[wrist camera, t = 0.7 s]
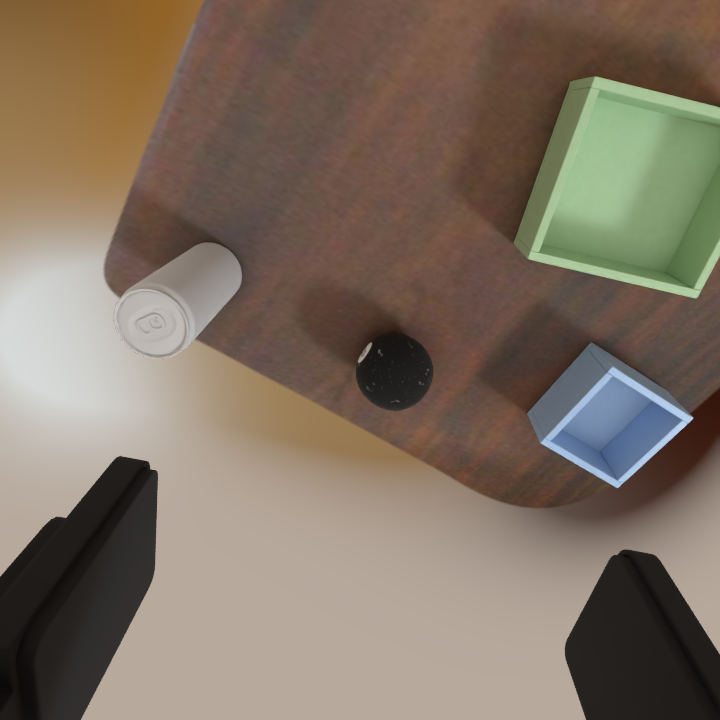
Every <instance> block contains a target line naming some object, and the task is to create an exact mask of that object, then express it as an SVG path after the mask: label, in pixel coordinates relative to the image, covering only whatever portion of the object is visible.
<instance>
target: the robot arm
mask: <svg viewBox="0 0 720 720" xmlns="http://www.w3.org/2000/svg"><path fill="white" fill-rule="evenodd" d="M157 486H158V473H157V471H156V470H151V469H150V465H149V462H147V461H143V460H137V459H132V458H127V457H122V456H119V457H117V458H116V459H115V460H114V461H113V462H112V463H111V464H110V465H109V467H108V468H107V469H106V470H105V472H104V473H103V474H102V475H101V476H100V478H99V479H98V480H97V481H96V482H95V484H94V485H93V486H92V487H91V489H90V490H89V491H88V492H87V493H86V495H85V496H84V497H83V498H82V499H81V501H80V502H79V503H78V504H77V506H76V507H75V508H74V509H73V510H72V512H71V513H70V514H69V515H68V517H67V518H63V517H55V518H53V519H51V520H50V521H49V522H48V523H47V524H46V525H45V526H44V527H43V528H42V529H41V530H40V531H39V533H38V534H37V535H36V536H35V537H34V538H33V540H32V541H31V542H30V543H29V544H28V545H27V546H26V548H25V549H24V550H23V551H22V552H21V553H20V555H19V556H18V557H17V558H16V559H15V560H14V562H13V563H12V564H11V565H10V566H9V567H8V568H7V570H6V571H5V572H4V573H3V574H2V576H1V577H0V720H81V718H82V716H83V714H84V712H85V710H86V708H87V707H88V705H89V703H90V701H91V699H92V697H93V695H94V693H95V691H96V689H97V687H98V685H99V683H100V681H101V679H102V678H103V676H104V674H105V672H106V670H107V668H108V666H109V664H110V662H111V660H112V658H113V656H114V654H115V653H116V651H117V649H118V647H119V645H120V643H121V641H122V639H123V637H124V635H125V633H126V631H127V629H128V627H129V625H130V623H131V622H132V620H133V618H134V616H135V614H136V612H137V610H138V608H139V606H140V604H141V602H142V600H143V598H144V596H145V595H146V592H147V591H148V588H149V587H150V584H151V582H152V579H153V575H154V570H155V549H156V518H157V516H156V515H157ZM565 657H566V661H567V664H568V667H569V670H570V673H571V676H572V679H573V682H574V685H575V688H576V691H577V694H578V697H579V700H580V703H581V706H582V709H583V712H584V715H585V718H586V720H720V654H719V653H718V651H717V650H716V648H715V647H714V645H713V643H712V642H711V640H710V638H709V637H708V635H707V634H706V632H705V631H704V629H703V627H702V626H701V624H700V623H699V621H698V620H697V618H696V616H695V615H694V613H693V612H692V610H691V609H690V607H689V605H688V604H687V602H686V601H685V599H684V598H683V596H682V594H681V593H680V591H679V590H678V588H677V587H676V585H675V583H674V582H673V580H672V579H671V577H670V576H669V574H668V572H667V571H666V569H665V568H664V566H663V565H662V563H661V561H660V560H659V559H658V558H657V557H656V556H655V555H653V554H648V553H643V552H637V551H632V550H622V551H620V553H619V554H618V555H614V556H612V557H611V558H610V560H609V562H608V564H607V565H606V567H605V569H604V571H603V573H602V575H601V577H600V578H599V580H598V582H597V584H596V586H595V588H594V590H593V592H592V594H591V596H590V597H589V599H588V601H587V603H586V605H585V607H584V609H583V611H582V612H581V614H580V616H579V618H578V620H577V622H576V624H575V626H574V627H573V629H572V631H571V633H570V635H569V637H568V639H567V641H566V645H565Z"/></svg>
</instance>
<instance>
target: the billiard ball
mask: <svg viewBox="0 0 720 720" xmlns="http://www.w3.org/2000/svg"><path fill="white" fill-rule="evenodd" d="M432 377H433V365H432V361H431V358H430V356H429V354H428V353H427V351H426V350H425V349H424V348H423V346H422V345H421V344H419V343H418V342H417V341H416V340H414V339H412V338H410V337H408V336H406V335H402V334H396V333H391V334H385V335H382V336H380V337H378V338H376V339H374V340H373V341H372V342H370V343H369V344H368V345H367V347H366V348H365V349H364V350H363V352H362V354H361V355H360V358H359V360H358V363H357V367H356V379H357V383H358V386H359V388H360V390H361V391H362V393H363V394H364V396H365V397H366V398H367V399H368V400H369V401H370V402H372V403H373V404H374V405H376V406H378V407H380V408H383V409H386V410H393V411H398V410H404V409H407V408H409V407H411V406H413V405H415V404H416V403H418V402H419V401H420V400H421V399H422V398H423V397H424V395H425V394H426V392H427V391H428V389H429V387H430V385H431V382H432Z"/></svg>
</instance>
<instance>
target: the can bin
mask: <svg viewBox="0 0 720 720" xmlns="http://www.w3.org/2000/svg"><path fill="white" fill-rule="evenodd" d="M527 415H528V417H529V419H530V421H531V424H532V426H533V428H534V430H535V432H536V435H537V437H538V439H539V441H540V443H541V444H543V445H545V446H546V447H548V448H550V449H551V450H553V451H555V452H557V453H558V454H560V455H562V456H563V457H565V458H567V459H568V460H570V461H572V462H574V463H575V464H577V465H579V466H580V467H582V468H584V469H586V470H587V471H589V472H591V473H592V474H594V475H596V476H598V477H599V478H601V479H603V480H604V481H606V482H608V483H610V484H611V485H613V486H615V487H616V488H618V487H619V486H620V485H622V483H624V482H625V481H626V480H627V479H628V478H629V477H630V476H631V475H632V474H634V473H635V472H636V471H637V470H638V469H639V468H640V467H641V466H642V465H643V464H644V463H646V462H647V461H648V460H649V459H650V458H651V457H652V456H653V455H654V454H655V453H656V452H657V451H659V450H660V449H661V448H662V447H663V446H664V445H665V444H666V443H667V442H668V441H669V440H671V439H672V438H673V437H674V436H675V435H676V434H677V433H678V432H679V431H680V430H682V428H684V427H685V426H686V425H687V423H689V422H690V421H691V420H692V419H693V417H692V416H691V415H690V414H689V413H688V412H687V411H686V410H685V409H684V408H683V407H682V406H681V405H680V404H679V403H678V402H677V401H676V400H675V399H674V398H673V397H672V396H671V395H670V394H669V393H668V392H667V391H666V390H665V389H664V388H662V387H660V386H659V385H657V384H656V383H654V382H653V381H651V380H650V379H648V378H646V377H645V376H643V375H642V374H640V373H639V372H637V371H636V370H634V369H633V368H631V367H629V366H628V365H626V364H625V363H623V362H622V361H620V360H619V359H617V358H615V357H614V356H612V355H611V354H609V353H608V352H606V351H605V350H603V349H601V348H600V347H598V346H597V345H595V344H594V343H592V342H591V343H590V344H589V345H588V346H587V347H586V348H585V349H584V351H583V352H582V353H581V354H580V355H579V356H578V357H577V358H576V359H575V361H574V362H573V363H572V364H571V365H570V366H569V367H568V368H567V369H566V370H565V372H564V373H563V374H562V375H561V376H560V377H559V378H558V379H557V380H556V382H555V383H554V384H553V385H552V386H551V387H550V388H549V389H548V390H547V391H546V393H545V394H544V395H543V396H542V397H541V398H540V399H539V400H538V401H537V403H536V404H535V405H534V406H533V407H532V408H531V409H530V410H529V411H528V413H527Z"/></svg>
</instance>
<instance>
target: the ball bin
mask: <svg viewBox="0 0 720 720" xmlns="http://www.w3.org/2000/svg"><path fill="white" fill-rule="evenodd" d="M514 245H515V246H516V247H517V248H518V249H519V250H520V251H521V252H522V254H523V255H524V256H525V257H526V258H527V259H529V260H533V261H538V262H542V263H546V264H551V265H555V266H559V267H563V268H568V269H572V270H576V271H580V272H585V273H589V274H593V275H598V276H602V277H606V278H610V279H615V280H619V281H623V282H627V283H632V284H636V285H640V286H645V287H649V288H653V289H657V290H662V291H666V292H670V293H674V294H679V295H683V296H687V297H692V298H697V297H698V296H699V294H700V292H701V291H700V290H702V288H703V286H704V284H705V282H706V280H707V278H708V277H709V275H710V273H711V271H712V269H713V267H714V265H715V263H716V262H717V260H718V258H719V256H720V107H717V106H713V105H709V104H705V103H701V102H697V101H693V100H689V99H685V98H681V97H677V96H673V95H669V94H665V93H661V92H657V91H653V90H649V89H645V88H641V87H637V86H633V85H629V84H625V83H621V82H617V81H613V80H609V79H605V78H601V77H597V76H594V77H589V78H584V79H579V80H574V81H571V82H570V84H569V87H568V90H567V93H566V96H565V99H564V102H563V104H562V107H561V110H560V113H559V116H558V119H557V121H556V124H555V127H554V130H553V133H552V136H551V138H550V141H549V144H548V147H547V150H546V153H545V156H544V158H543V161H542V164H541V167H540V170H539V173H538V175H537V178H536V181H535V184H534V187H533V190H532V193H531V195H530V198H529V201H528V204H527V207H526V210H525V212H524V215H523V218H522V221H521V224H520V227H519V229H518V232H517V235H516V238H515V241H514Z"/></svg>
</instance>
